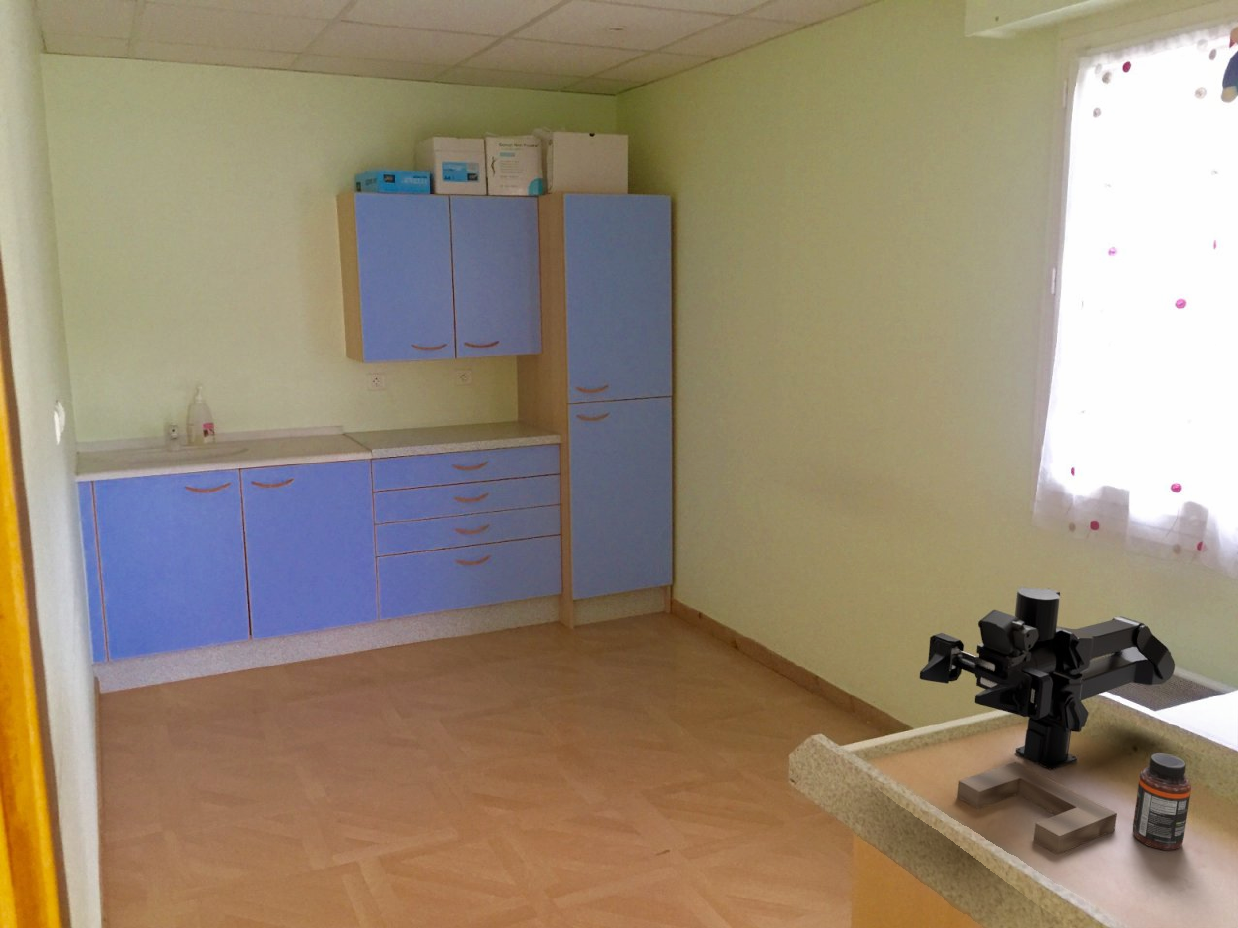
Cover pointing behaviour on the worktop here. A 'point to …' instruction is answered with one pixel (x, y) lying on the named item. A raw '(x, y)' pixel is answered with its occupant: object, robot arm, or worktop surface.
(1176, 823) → the supplement bottle
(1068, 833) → the notched board
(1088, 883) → the worktop surface
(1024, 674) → the robot arm
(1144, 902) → the worktop surface
